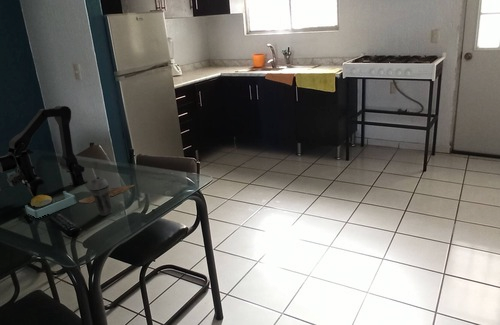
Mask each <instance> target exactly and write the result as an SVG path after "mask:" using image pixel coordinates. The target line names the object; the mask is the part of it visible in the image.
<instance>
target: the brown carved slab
mask: <svg viewBox="0 0 500 325" xmlns="http://www.w3.org/2000/svg"><path fill="white" fill-rule="evenodd" d="M134 186H135V184H132V185H131V184H130V185H125V186H119V187H113V188H109V196H110V198H111V197H113V196H117V195H119V194H123V193H125V192H127V191H128V190H129V189H131V188H132V187H134ZM93 202H95V199H94V196H93V194H92V193H91V195H89V196H86V197H84V198H82V199H80V200H78V202H77V203H79V204H80V203H81V204H91V203H93Z"/></svg>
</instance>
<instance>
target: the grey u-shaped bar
mask: <svg viewBox="0 0 500 325" xmlns="http://www.w3.org/2000/svg"><path fill="white" fill-rule="evenodd" d="M62 194H63V197H64V199H62V200H58V201H57V202H54V203H50V204H48V205H45V206H43V207H42V208H39V209H36V210H35V209H33V208H31V207H30V206H29V205H28V204H26V205H24V207H25V211H26V215H28V214H30V215H32V216H34V217H35V218H39V217H41V218H43V217H42V216H44V215H46V216H48V215H47V214H49V215H51V214H54V213H56V212H58V211H60V210H64V209H65V208H68V207H71V206H73V205H75V204H77V203H78V202H77V199H76V196H75V195H74V194H72V193H68V192H67V191H66V190H64V191H62ZM30 215H29V216H30ZM32 216H31V217H32ZM44 217H45V216H44ZM35 218H34V219H35ZM39 219H40V218H39Z"/></svg>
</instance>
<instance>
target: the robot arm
mask: <svg viewBox="0 0 500 325" xmlns="http://www.w3.org/2000/svg"><path fill="white" fill-rule="evenodd" d="M48 118H53V119H55V121H56V123H57V124H58V125H57V126H58V131H59V137H60V143H61V145H60V146H61V149H62V155H61V157H58V161H59V166H60V167H61V169H62V170H64V171H66V173H69V175H70V176H69V177H70V180H71V182H70V183H69V185H70V186H73V187H78V186H81V185H84V184H86V183H88V181H87V180H85V179H84V174H83V173H84V172H85V166H82V165H81V164H79V161H78V159H77V157H76V155H75V153H74V149H73V141H72V134H71V128H70V124H71V120H72V110H71V108H70V107H69V106H66V105H56V106H55V107H53V108H52V107H51V108H41V109H39V110H38V112H36V115H34V117H33V118H32V119H31V120H30V121H29V122H28V124H27V125H26V126H25V128H24V129H23V130H22V131H21V132H20V133H18V134H16V135H15V136H13V137H12V138H11V139H10V140H9V142H8V145H9V146H8V149H7V151H6V153H5V154H6V155H3V156H0V173H1V174H3V173H6V172H8V171H11V170H14V169H16V168H17V169H16V172H15V173H14V174H12V175H10V176H9V177H8V178H7V179H6V181H7V182H8V184H9V185H10V186H12V187H16V186H17V185H19V184H20V183H21V182H22V183H21V185H22V186H24V187H26V189H27V190H28V191H29V193H30V194H31V196H32V197H33V198H34V197H35V196H38V195H37V193H38V191H39V190H38V188H39V186H41V185H43V184H45V179H44V178H41V177H39V176H37V173H35V170H34V169H35V165H33V163H32V161H31V156H30V155H31V154H34V150H30V149H29V146H30V144H31V142H32V138H33V136H35V134H36V132H38V130H39V129H40V128H41V127H42V125H43V124H44V123H45V122H46V121H47V119H48Z"/></svg>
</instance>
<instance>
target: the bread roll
mask: <svg viewBox="0 0 500 325" xmlns="http://www.w3.org/2000/svg"><path fill="white" fill-rule="evenodd" d="M52 200H53V199H52V196H49V195H46V194H38V195H36V196H35V197H33V198H32V199H31V201H30V205H31V206H32V207H33V206H35V207H34V208H40V207H46V206H48V205H50V204H52V203H51V202H52Z"/></svg>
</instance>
